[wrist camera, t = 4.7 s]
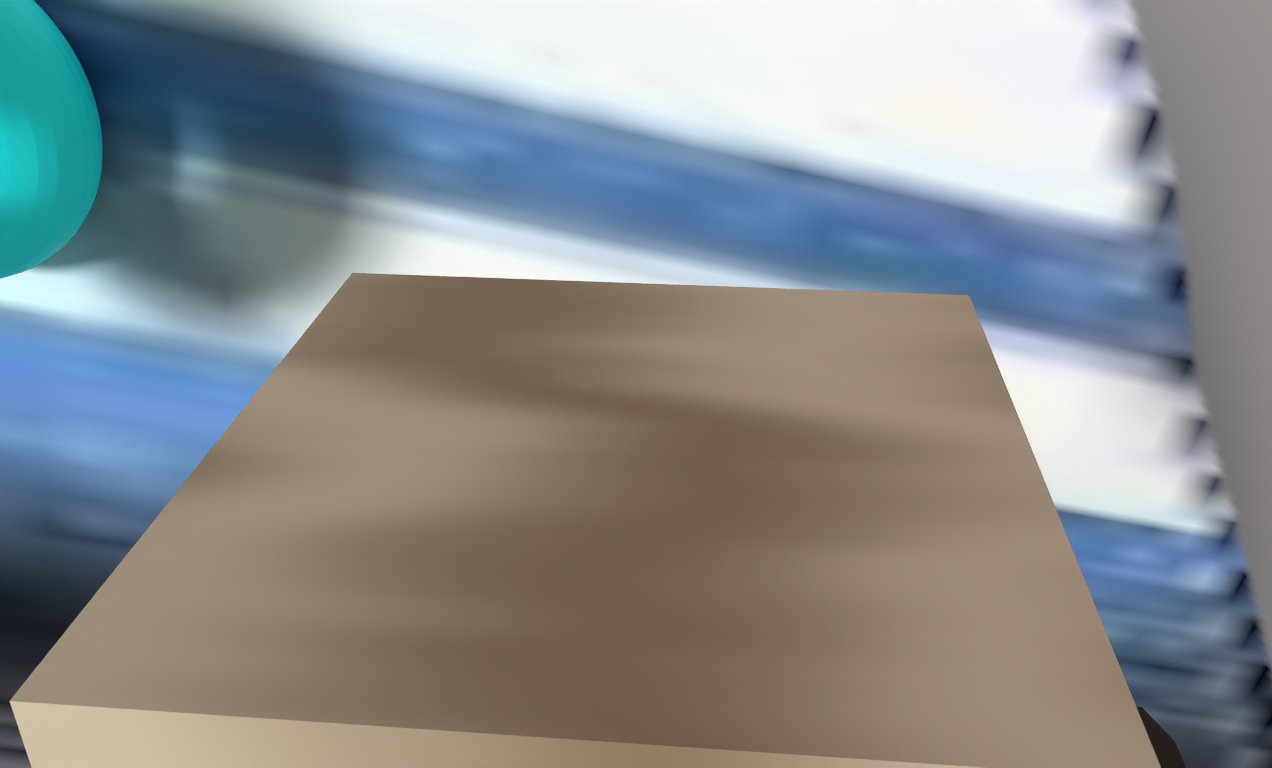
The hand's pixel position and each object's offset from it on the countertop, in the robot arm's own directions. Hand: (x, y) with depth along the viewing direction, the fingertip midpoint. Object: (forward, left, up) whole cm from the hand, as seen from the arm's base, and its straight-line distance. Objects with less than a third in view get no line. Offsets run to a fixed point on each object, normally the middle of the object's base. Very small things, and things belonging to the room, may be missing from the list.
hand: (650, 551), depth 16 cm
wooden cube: (0, 0, 0) cm, 0 cm away
